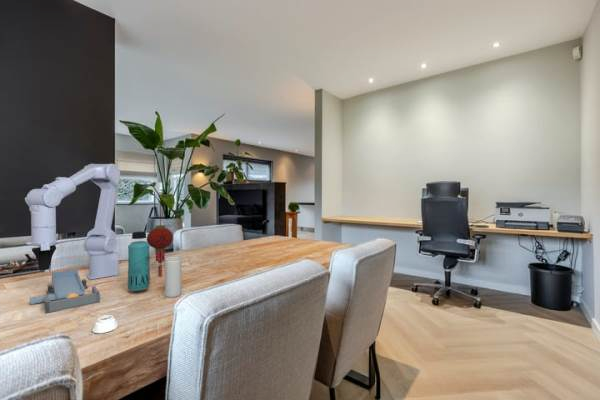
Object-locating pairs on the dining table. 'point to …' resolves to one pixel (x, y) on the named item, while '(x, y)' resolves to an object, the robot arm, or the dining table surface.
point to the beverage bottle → (138, 263)
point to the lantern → (160, 242)
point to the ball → (72, 295)
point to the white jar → (105, 324)
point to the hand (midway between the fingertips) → (44, 269)
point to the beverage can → (172, 277)
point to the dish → (71, 301)
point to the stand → (53, 290)
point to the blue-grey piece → (63, 286)
